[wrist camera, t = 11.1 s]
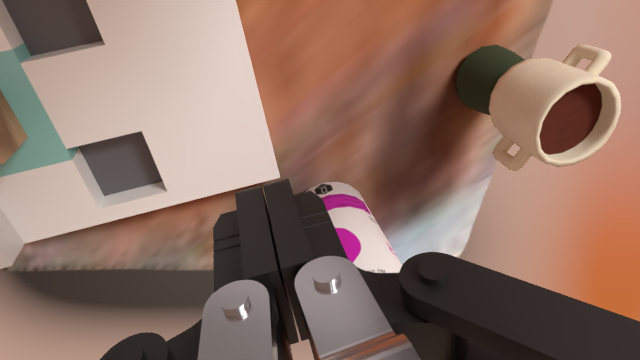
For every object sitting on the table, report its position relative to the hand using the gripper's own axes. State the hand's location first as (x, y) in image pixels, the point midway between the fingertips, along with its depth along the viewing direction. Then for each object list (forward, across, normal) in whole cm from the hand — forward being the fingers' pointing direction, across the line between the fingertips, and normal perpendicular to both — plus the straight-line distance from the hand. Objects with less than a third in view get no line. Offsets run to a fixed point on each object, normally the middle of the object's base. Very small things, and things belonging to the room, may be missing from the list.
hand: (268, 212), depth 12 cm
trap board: (+27, +11, +2) cm, 29 cm away
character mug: (+27, -23, +9) cm, 37 cm away
